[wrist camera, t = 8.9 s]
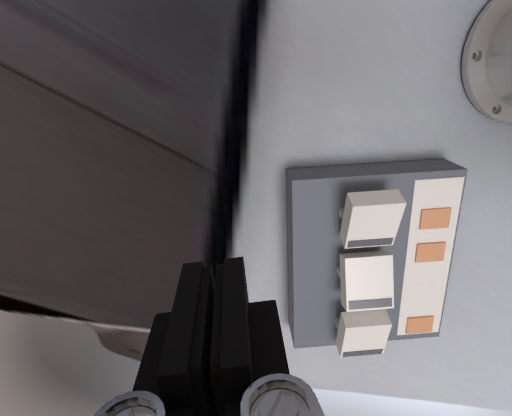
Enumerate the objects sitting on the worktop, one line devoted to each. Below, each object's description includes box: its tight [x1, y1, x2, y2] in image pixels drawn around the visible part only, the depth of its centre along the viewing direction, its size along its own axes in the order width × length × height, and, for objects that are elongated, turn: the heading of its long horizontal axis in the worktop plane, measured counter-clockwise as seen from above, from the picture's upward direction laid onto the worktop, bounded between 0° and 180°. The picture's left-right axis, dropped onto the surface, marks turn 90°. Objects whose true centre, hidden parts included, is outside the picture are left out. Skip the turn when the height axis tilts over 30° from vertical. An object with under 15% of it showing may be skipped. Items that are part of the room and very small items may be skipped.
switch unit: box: [286, 159, 467, 348], centre depth 38 cm, size 16×19×5 cm
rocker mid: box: [339, 251, 394, 312], centre depth 34 cm, size 4×5×2 cm
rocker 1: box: [340, 189, 406, 249], centre depth 32 cm, size 4×5×2 cm
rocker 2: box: [336, 309, 392, 358], centre depth 36 cm, size 4×5×2 cm
